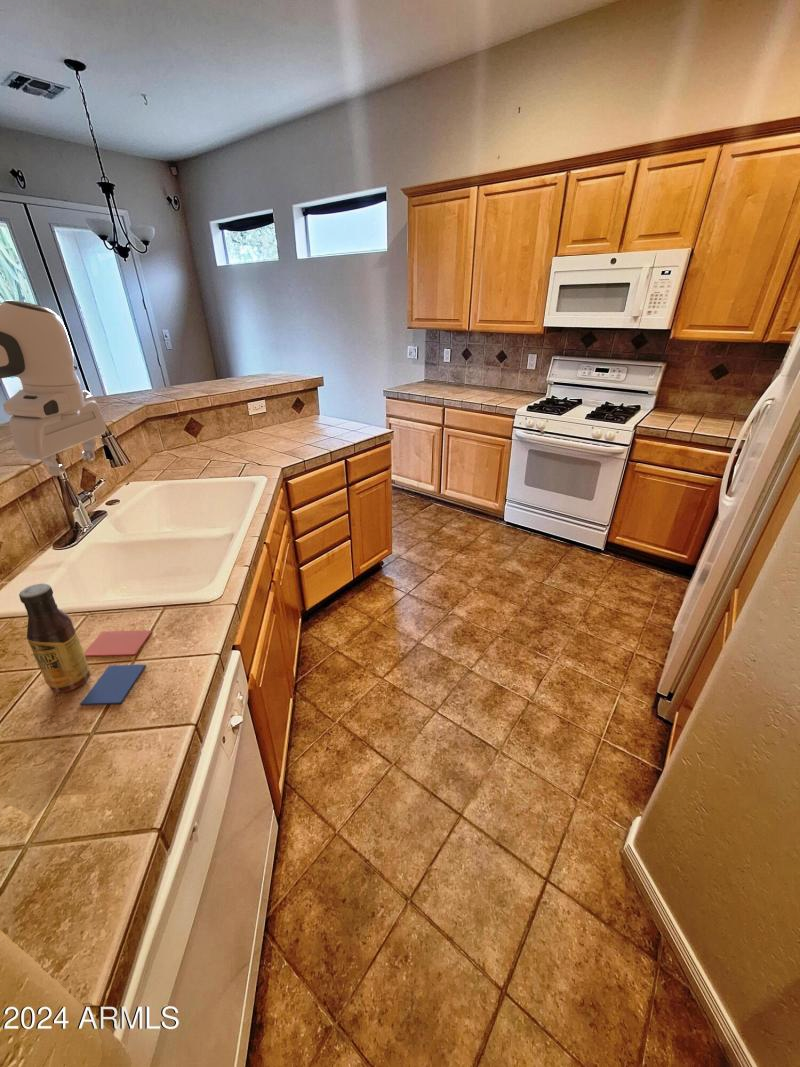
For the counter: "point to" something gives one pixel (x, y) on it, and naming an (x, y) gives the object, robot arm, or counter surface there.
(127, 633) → the terracotta mat
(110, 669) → the blue mat
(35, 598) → the sauce bottle
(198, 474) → the counter surface
